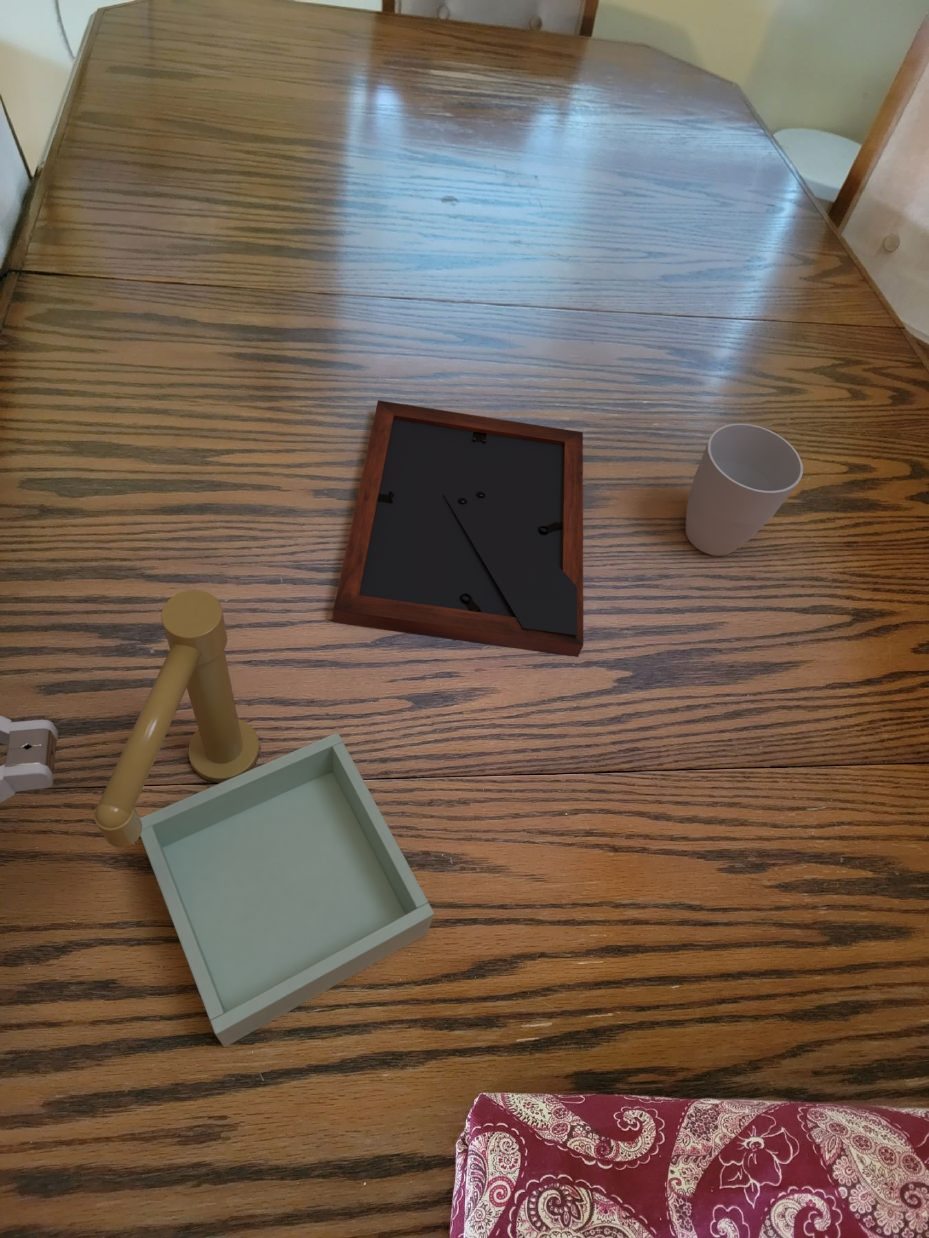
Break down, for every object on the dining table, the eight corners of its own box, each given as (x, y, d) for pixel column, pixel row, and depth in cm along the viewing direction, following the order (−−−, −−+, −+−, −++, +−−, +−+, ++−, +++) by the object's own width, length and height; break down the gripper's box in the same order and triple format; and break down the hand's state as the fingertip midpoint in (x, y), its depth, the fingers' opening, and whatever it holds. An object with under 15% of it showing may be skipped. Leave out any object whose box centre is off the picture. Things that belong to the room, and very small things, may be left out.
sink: (427, 933, 54) (434, 913, 50) (224, 1047, 49) (215, 1034, 45) (337, 761, 60) (337, 731, 56) (147, 846, 55) (134, 819, 51)
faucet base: (238, 793, 58) (215, 692, 46) (176, 767, 58) (138, 661, 47) (271, 736, 60) (257, 627, 49) (211, 712, 61) (183, 599, 49)
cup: (766, 567, 76) (818, 491, 68) (684, 571, 75) (727, 494, 66) (736, 501, 81) (781, 422, 73) (658, 503, 79) (695, 423, 71)
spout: (184, 624, 49) (174, 584, 46) (237, 636, 49) (230, 596, 46) (85, 840, 42) (64, 809, 38) (147, 853, 42) (132, 824, 38)
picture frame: (578, 656, 68) (578, 445, 82) (584, 643, 66) (583, 430, 81) (333, 622, 67) (377, 414, 81) (333, 607, 65) (378, 397, 80)
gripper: (-413, 1018, 30) (5, 957, 33) (-248, 570, 41) (53, 553, 44) (-303, 1045, 35) (50, 990, 38) (-183, 640, 46) (83, 621, 49)
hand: (52, 752), depth 41 cm, fingers closed
